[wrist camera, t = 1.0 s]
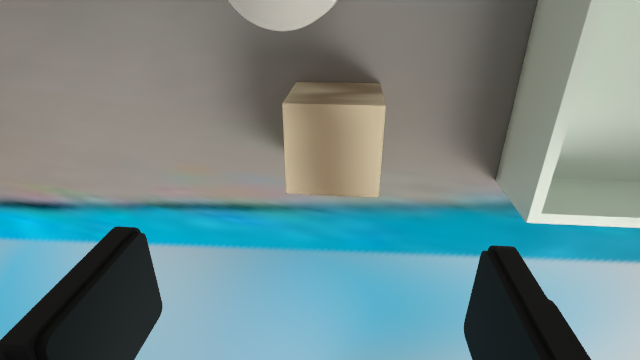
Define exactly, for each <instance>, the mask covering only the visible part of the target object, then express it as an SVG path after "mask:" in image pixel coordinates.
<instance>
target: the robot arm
mask: <svg viewBox="0 0 640 360" xmlns="http://www.w3.org/2000/svg"><path fill="white" fill-rule="evenodd" d="M161 312H162V301H161V297H160V293H159V288H158V284H157V280H156V276H155V272H154V268H153V264H152V260H151V255H150V251H149V247H148V243H147V239H146V236H145V234H143V233H141V232H140V230H139V229H138V228H134V227H115V228H113V229H112V230H111V231H110V232H109V233H108V234H107V235H106V236H105V237H104V238H103V239H102V240H101V241H100V242H99V243H98V244H97V245H96V246H95V247H94V248H93V249H92V250H91V251H90V252H89V253H88V254H87V255H86V256H85V257H84V258H83V259H82V260H81V261H80V262H79V263H78V264H77V265H76V266H75V267H74V268H73V269H72V270H71V271H70V272H69V273H68V274H67V275H66V276H65V277H64V278H63V279H62V280H61V281H60V282H59V283H58V284H57V285H55V286H54V288H53V289H52V290H50V292H49V293H47V294H46V295H45V296H44V297H43V298H42V299H41V300H40V301H39V302H38V303H37V304H36V305H35V306H34V307H33V308H32V309H31V311H29V312H28V313H27V314H26V315H25V316H24V317H23V318H22V319H21V320H20V321H19V322H18V323H17V324H16V325H15V326H14V327H13V328H12V329H11V330H10V331H9V332H8V333H7V334H6V335H5V336H4V337H3V338H2V339H1V340H0V360H134V359H135V357H136V355H137V354H138V352H139V351H140V348H141V347H142V346H143V344H144V342H145V340H146V339H147V337H148V335H149V334H150V332H151V330H152V329H153V327H154V325H155V324H156V322H157V320H158V318H159V317H160V314H161ZM464 334H465V338H466V341H467V344H468V347H469V351H470V353H471V356H472V359H473V360H591V359H590V357H589V356H588V355H587V353H586V351H585V350H584V348H583V347H582V345H581V343H580V342H579V340H578V339H577V337H576V336H575V334H574V332H573V331H572V329H571V328H570V326H569V325H568V323H567V322H566V320H565V319H564V317H563V315H562V314H561V312H560V311H559V309H558V308H557V306H556V305H555V304H554V303H553V302H552V301H551V300H549V299H547V297H546V295H545V294H544V292H543V291H542V289H541V287H540V286H539V285H538V283H537V281H536V280H535V278H534V276H533V275H532V273H531V272H530V270H529V269H528V267H527V265H526V264H525V262H524V260H523V259H522V257H521V256H520V254H519V252H518V251H517V249H516V248H515V247H509V246H490V247H489V249H488V251H483V252H482V253H481V256H480V260H479V264H478V269H477V273H476V277H475V281H474V285H473V289H472V293H471V297H470V302H469V306H468V310H467V314H466V318H465V322H464Z"/></svg>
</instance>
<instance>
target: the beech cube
mask: <svg viewBox="0 0 640 360" xmlns="http://www.w3.org/2000/svg"><path fill="white" fill-rule="evenodd" d="M282 108H283V130H284V153H285V176H286V193H288V194H311V195H335V196H358V197H379V185H380V173H381V161H382V148H383V136H384V124H385V111H386V104H385V100H384V96H383V92H382V88H381V84H380V83H342V82H296V83H295V85H294V86H293V88H292V89H291V91H290V92H289V94H288V95H287V97H286V98H285V100H284V101H283V103H282Z"/></svg>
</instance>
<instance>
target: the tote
mask: <svg viewBox="0 0 640 360" xmlns="http://www.w3.org/2000/svg"><path fill="white" fill-rule="evenodd" d="M496 182H497V183H498V185H499V186H500V187H501V189H502V190H503V191H504V193H505V194H506V196H507V197H508V198H509V200H510V201H511V202H512V204H513V205H514V206H515V208H516V209H517V211H518V212H519V213H520V215H521V216H522V217H523V219H524V220H525V221H526V223H542V224H563V225H585V226H607V227H628V228H640V0H538V1H537V6H536V10H535V14H534V19H533V23H532V27H531V31H530V36H529V40H528V44H527V48H526V53H525V57H524V61H523V66H522V70H521V74H520V78H519V83H518V87H517V91H516V95H515V100H514V104H513V108H512V113H511V117H510V121H509V125H508V130H507V134H506V138H505V143H504V147H503V151H502V155H501V160H500V164H499V168H498V172H497V177H496Z"/></svg>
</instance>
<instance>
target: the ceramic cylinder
mask: <svg viewBox="0 0 640 360" xmlns="http://www.w3.org/2000/svg"><path fill="white" fill-rule="evenodd" d="M228 1H229V3H230V4H231V5H232V7H233V8H234V9H235V10H236V11H237V12H238V13H239V14H240V15H242V16H243V17H244V18H245V19H247V20H248V21H250V22H251V23H253V24H255V25H257V26H260V27H262V28H265V29H269V30H275V31H290V30H296V29H299V28H302V27H305V26H307V25H309V24H311V23H312V22H314V21H316V20H317V19H318V18H320V17H321V16H323V15H324V14H325V13H327V12H328V11H329V10H330V9H332V8H333V7H334V6H335V5H336V4H337V3H338V1H339V0H228Z"/></svg>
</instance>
